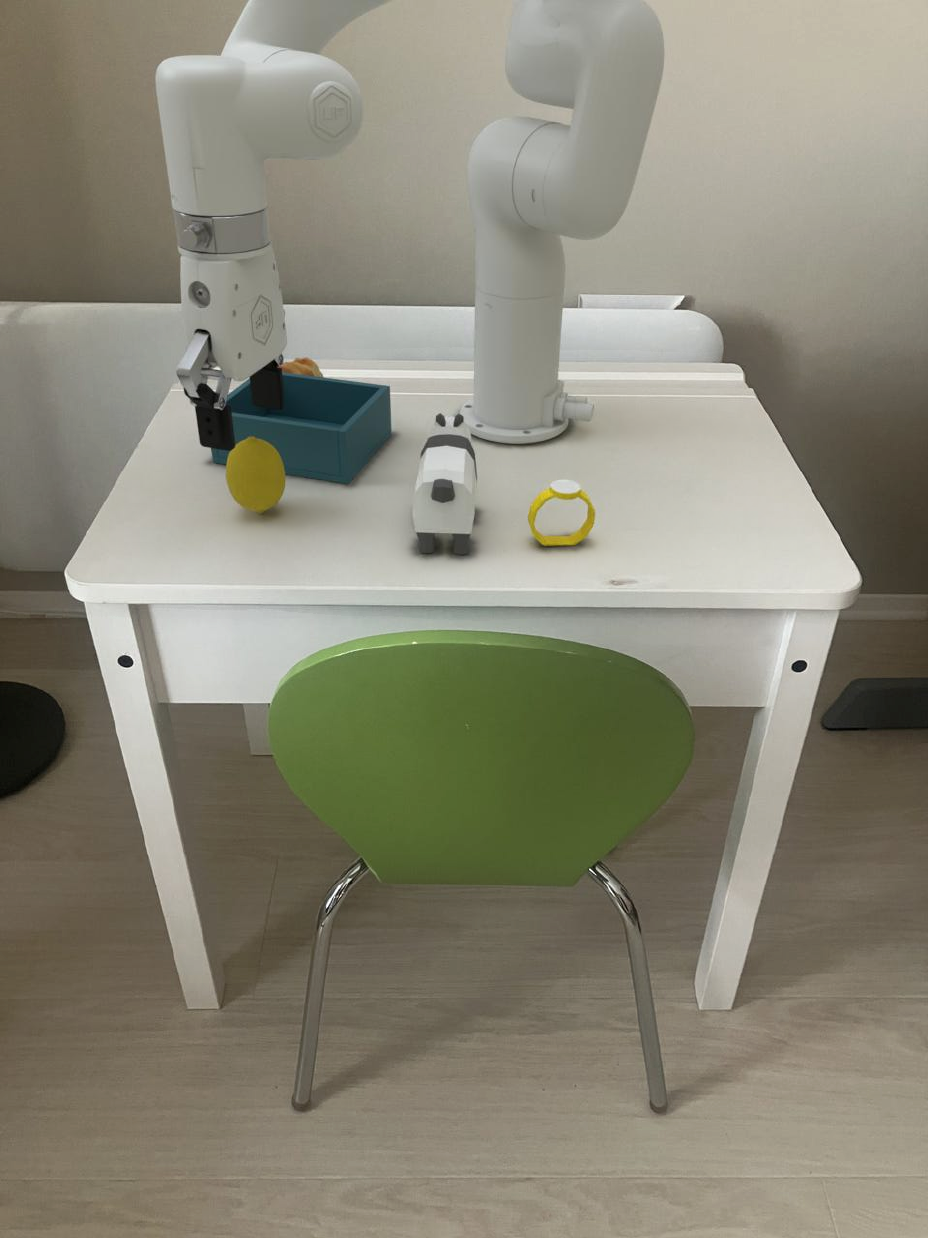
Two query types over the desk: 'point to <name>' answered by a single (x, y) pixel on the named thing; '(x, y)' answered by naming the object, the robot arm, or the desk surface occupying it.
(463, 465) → the giant panda
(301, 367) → the pastry
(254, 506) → the lemon
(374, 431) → the teal open bin
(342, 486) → the desk surface
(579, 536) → the watch
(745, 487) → the desk surface
